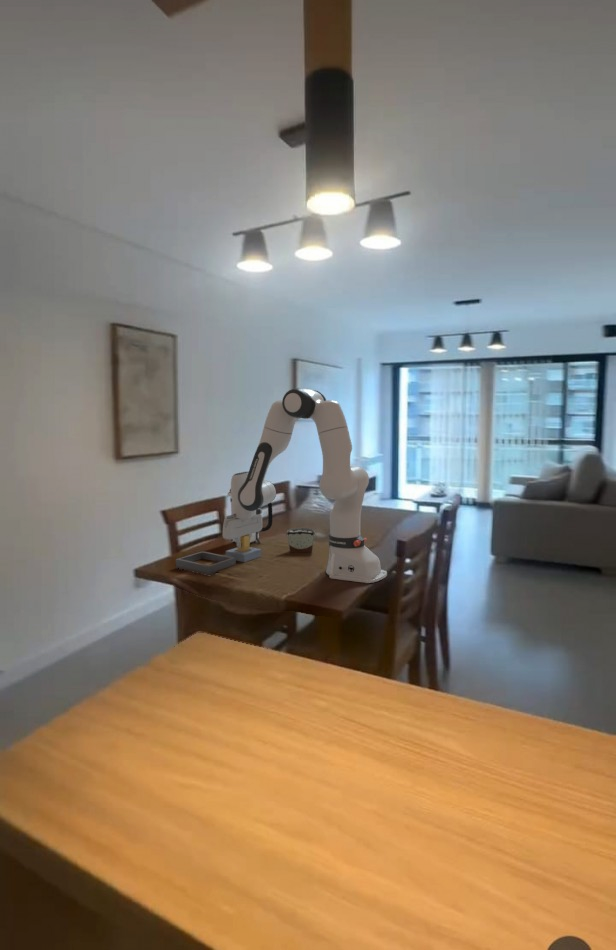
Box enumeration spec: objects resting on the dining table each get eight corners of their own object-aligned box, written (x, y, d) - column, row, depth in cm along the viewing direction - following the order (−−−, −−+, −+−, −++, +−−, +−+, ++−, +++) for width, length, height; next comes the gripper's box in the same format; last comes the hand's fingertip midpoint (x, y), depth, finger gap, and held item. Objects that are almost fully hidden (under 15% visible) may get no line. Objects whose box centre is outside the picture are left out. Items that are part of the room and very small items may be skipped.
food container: (316, 550, 234) (316, 527, 233) (315, 554, 228) (315, 531, 227) (288, 550, 235) (287, 527, 234) (286, 554, 229) (285, 530, 228)
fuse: (249, 557, 221) (249, 535, 220) (244, 558, 219) (244, 536, 218) (242, 555, 223) (241, 534, 222) (237, 557, 221) (236, 535, 220)
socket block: (261, 558, 222) (261, 549, 222) (244, 564, 214) (244, 554, 214) (242, 555, 228) (242, 545, 228) (225, 560, 220) (225, 551, 219)
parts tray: (235, 566, 212) (235, 557, 211) (209, 576, 200) (209, 566, 200) (202, 559, 222) (202, 551, 221) (176, 568, 211) (175, 559, 210)
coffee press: (250, 549, 237) (248, 480, 234) (222, 544, 246) (220, 478, 242) (273, 540, 252) (272, 476, 248) (246, 536, 260) (244, 474, 257)
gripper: (230, 517, 209) (231, 552, 210) (264, 509, 225) (265, 541, 227) (218, 515, 212) (219, 550, 214) (253, 507, 229) (253, 539, 230)
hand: (243, 546), depth 220 cm, fingers closed on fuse, 3 cm apart
